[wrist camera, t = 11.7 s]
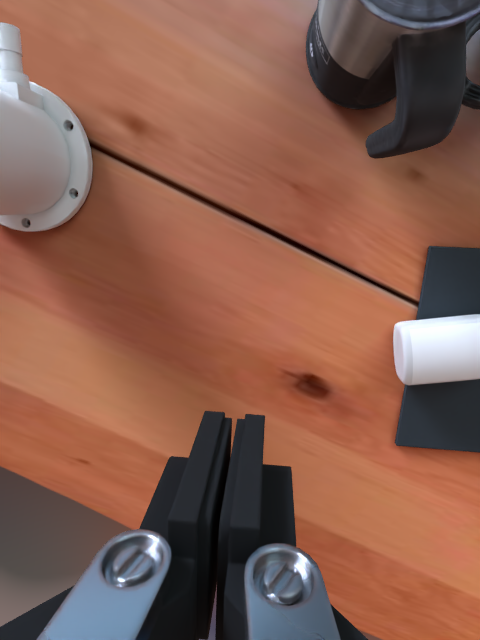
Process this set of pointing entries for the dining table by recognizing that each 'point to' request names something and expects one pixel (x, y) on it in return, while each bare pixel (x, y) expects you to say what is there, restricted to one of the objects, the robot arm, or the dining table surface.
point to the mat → (447, 397)
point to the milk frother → (396, 64)
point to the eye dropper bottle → (437, 349)
